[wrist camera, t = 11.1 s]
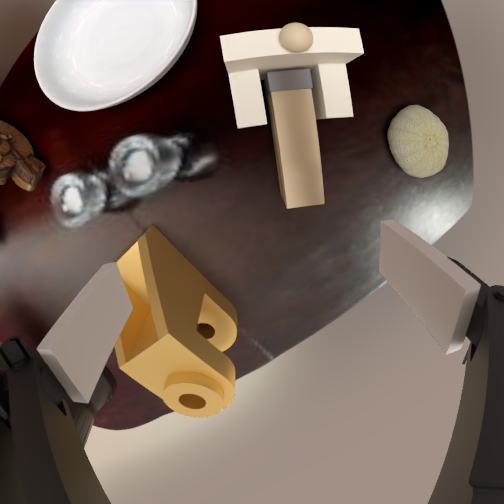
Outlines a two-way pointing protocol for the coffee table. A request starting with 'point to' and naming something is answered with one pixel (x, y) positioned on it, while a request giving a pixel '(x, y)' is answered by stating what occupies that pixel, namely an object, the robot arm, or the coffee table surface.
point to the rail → (295, 137)
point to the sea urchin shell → (418, 141)
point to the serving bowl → (109, 48)
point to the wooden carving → (18, 158)
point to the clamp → (176, 329)
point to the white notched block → (291, 67)
